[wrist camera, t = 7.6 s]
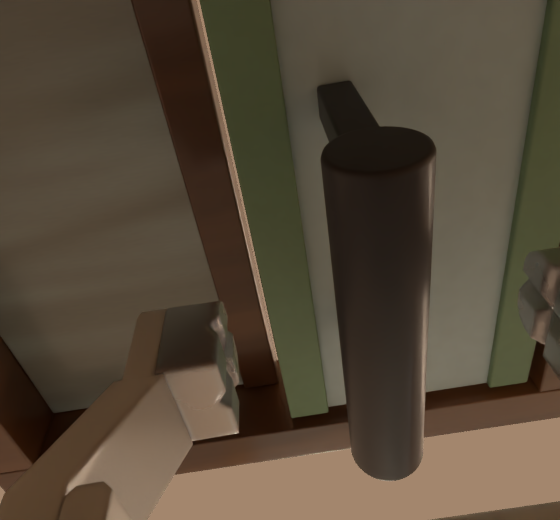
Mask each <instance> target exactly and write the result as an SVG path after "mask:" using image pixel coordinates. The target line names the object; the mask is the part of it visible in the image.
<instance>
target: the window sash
mask: <svg viewBox="0 0 560 520" xmlns="http://www.w3.org/2000/svg"><path fill="white" fill-rule="evenodd" d="M200 4H201V9H202V13H203V18H204V22H205V27H206V32H207V37H208V41H209V46H210V50H211V55H212V59H213V64H214V68H215V73H216V77H217V82H218V87H219V91H220V95H221V100H222V104H223V110H224V114H225V119H226V123H227V128H228V132H229V136H230V141H231V146H232V151H233V155H234V160H235V164H236V168H237V173H238V178H239V183H240V187H241V191H242V196H243V201H244V205H245V210H246V214H247V219H248V224H249V228H250V233H251V237H252V241H253V246H254V251H255V256H256V260H257V265H258V269H259V274H260V278H261V283H262V287H263V292H264V297H265V301H266V305H267V310H268V315H269V319H270V324H271V328H272V333H273V338H274V342H275V347H276V351H277V356H278V360H279V365H280V370H281V374H282V379H283V383H284V388H285V392H286V397H287V402H288V406H289V411H290V415H291V417H292V418H296V417H302V416H309V415H316V414H322V413H328V411H329V409H328V407H331V406H338V405H344V404H346V405H347V414H348V424H349V433H350V443H351V451H352V455H353V457H354V460H355V462H356V463H357V465H358V466H359V467H360V468H361V469H362V470H363V471H364V472H365V473H367V474H368V475H370V476H371V477H374V478H376V479H379V480H384V481H396V480H400V479H403V478H405V477H407V476H409V475H410V474H412V473H413V472H414V471H415V470H416V469H417V467H418V466H419V464H420V462H421V459H422V456H423V438H424V416H425V394H426V392H430V391H436V390H443V389H449V388H456V387H463V386H469V385H476V384H482V383H487V384H488V386H489V387H491V388H492V387H499V386H505V385H512V384H518V383H525V382H527V380H528V376H529V371H530V367H531V363H532V359H533V354H534V350H535V346H536V340H534V339H532V338H531V337H530V336H529V334H528V333H527V331H526V330H525V328H524V326H523V324H522V321H521V319H520V316H519V310H518V304H517V302H518V294H519V289H520V287H521V286H522V285H523V284H524V283H525V282H526V281H527V280H528V279H529V277H528V276H527V275H526V274H525V272H524V271H523V266H524V262H525V258H526V257H527V255H528V253H529V252H532V251H538V250H544V249H550V248H556V247H559V243H560V0H200Z"/></svg>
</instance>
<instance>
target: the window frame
mask: <svg viewBox="0 0 560 520" xmlns="http://www.w3.org/2000/svg"><path fill="white" fill-rule="evenodd" d="M559 247H560V243H559ZM215 301H222V302H223V304H224V307H225V310H226V313H227V316H228V320H227V330H228V331H229V332H231V333H232V334H233V337H234V341H235V345H236V350H237V356H238V366H239V383H238V384H237V386H236V387H235V389H236V393H237V396H238V400H239V433H236V434H230V435H225V436H219V437H213V438H208V439H202V440H197V441H192V443H193V445H192V447H191V448H190V450H189V452H188V453H187V455H186V456H185V458H184V460H183V461H182V463H181V465H180V466H179V468H178V470H177V471H176V473H175V474H183V473H189V472H196V471H203V470H210V469H216V468H223V467H230V466H236V465H243V464H250V463H256V462H263V461H270V460H277V459H283V458H290V457H297V456H303V455H309V454H317V453H323V452H330V451H337V450H343V449H350V448H351V443H350V433H349V424H348V414H347V405H346V404H344V405H338V406H331V407H328V409H329V411H328V413H322V414H316V415H309V416H302V417H296V418H292V417H291V415H290V411H289V406H288V402H287V397H286V392H285V388H284V383H283V379H282V374H281V370H280V365H279V360H276V356H275V351H274V347H273V342H272V338H271V334H270V329H269V325H268V320H267V315H266V311H265V306H264V302H263V298H262V293H261V288H260V284H259V280H258V275H257V270H256V266H255V262H254V257H253V252H252V248H251V244H250V239H249V234H248V230H247V225H246V221H245V217H244V212H243V208H242V204H241V199H240V194H239V190H238V185H237V181H236V176H235V172H234V167H233V163H232V159H231V154H230V149H229V145H228V140H227V136H226V131H225V127H224V122H223V118H222V113H221V109H220V105H219V100H218V95H217V91H216V86H215V82H214V77H213V73H212V68H211V64H210V60H209V55H208V51H207V46H206V42H205V37H204V32H203V28H202V23H201V19H200V15H199V10H198V5H197V1H196V0H0V486H1V487H2V489H4V491H5V492H6V491H7V490H8V489H9V488H10V487H11V486H12V485H13V484H14V483H15V482H16V481H17V480H18V479H19V478H20V477H21V476H22V475H23V474H24V473H25V472H26V471H27V470H28V469H29V468H30V467H31V466H32V465H33V464H34V463H35V462H36V461H37V460H38V459H39V458H40V457H41V456H42V455H43V454H44V453H45V452H46V451H47V450H48V449H49V447H50V446H51V445H52V444H53V443H54V442H55V441H56V440H57V439H58V438H59V437H60V436H61V435H62V434H63V433H64V432H65V431H66V430H67V429H68V428H69V427H70V426H71V425H72V424H73V423H74V422H75V421H76V420H77V419H78V418H79V417H80V416H81V415H82V414H83V413H84V412H85V411H86V410H87V409H88V408H89V407H90V406H91V405H92V404H93V402H94V401H95V400H96V399H97V398H98V397H99V396H100V395H101V394H102V393H103V392H104V391H105V390H106V389H107V388H108V387H109V386H110V385H111V384H112V383H113V382H114V381H120V380H122V379H123V375H124V371H125V367H126V362H127V358H128V354H129V350H130V346H131V342H132V338H133V334H134V330H135V326H136V322H137V318H138V316H139V315H140V314H141V313H142V312H145V311H152V310H159V309H168V308H171V307H178V306H185V305H193V304H200V303H207V302H215ZM544 348H545V345H544V344H542V343H540V342H538V341H536V346H535V350H534V354H533V359H532V363H531V367H530V371H529V376H528V380H527V382H525V383H518V384H512V385H505V386H499V387H492V388H491V387H489V386H488V384H487V383H482V384H476V385H469V386H463V387H456V388H449V389H443V390H436V391H430V392H426V394H425V416H424V437H431V436H437V435H444V434H450V433H457V432H464V431H470V430H478V429H484V428H491V427H498V426H504V425H511V424H518V423H525V422H531V421H538V420H545V419H551V418H558V417H560V380H559V379H558V377H557V376H556V374H555V373H554V371H553V370H552V369H551V367H550V366H549V364H548V363H547V361H546V360H545V358H544V357H543V352H544Z"/></svg>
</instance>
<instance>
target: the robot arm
mask: <svg viewBox="0 0 560 520" xmlns="http://www.w3.org/2000/svg"><path fill="white" fill-rule="evenodd" d="M523 271H524V272H525V274H526V275H527V276H528V277H529V279H528V280H527V281H526V282H525V283H524V284H523V285H522V286H521V287H520V289H519V294H518V302H517V304H518V310H519V316H520V319H521V321H522V324H523V326H524V328H525V330H526V331H527V333H528V334H529V336H530V337H531V338H532V339H534V340H536V341H538V342H540V343H542V344H544V345H545V348H544V352H543V357H544V358H545V360H546V361H547V363H548V364H549V366H550V367H551V369H552V370H553V371H554V373H555V374H556V376H557V377H558V379H559V380H560V247H556V248H550V249H544V250H538V251H532V252H529V253H528V255H527V257H526V258H525V262H524V266H523ZM227 320H228V316H227V313H226V310H225V307H224V304H223V302H222V301H215V302H207V303H200V304H193V305H185V306H178V307H171V308H168V309H159V310H152V311H145V312H142V313H141V314H140V315H139V316H138V318H137V322H136V326H135V330H134V334H133V338H132V342H131V346H130V350H129V354H128V358H127V362H126V367H125V371H124V375H123V379H122V380H120V381H114V382H113V383H112V384H111V385H110V386H109V387H108V388H107V389H106V390H105V391H104V392H103V393H102V394H101V395H100V396H99V397H98V398H97V399H96V400H95V401H94V402H93V404H92V405H91V406H90V407H89V408H88V409H87V410H86V411H85V412H84V413H83V414H82V415H81V416H80V417H79V418H78V419H77V420H76V421H75V422H74V423H73V424H72V425H71V426H70V427H69V428H68V429H67V430H66V431H65V432H64V433H63V434H62V435H61V436H60V437H59V438H58V439H57V440H56V441H55V442H54V443H53V444H52V445H51V446H50V447H49V449H48V450H47V451H46V452H45V453H44V454H43V455H42V456H41V457H40V458H39V459H38V460H37V461H36V462H35V463H34V464H33V465H32V466H31V467H30V468H29V469H28V470H27V471H26V472H25V473H24V474H23V475H22V476H21V477H20V478H19V479H18V480H17V481H16V482H15V483H14V484H13V485H12V486H11V487H10V488H9V489H8V490H7V491H6V492H5V494H4V496H3V499H2V501H1V504H0V520H147V519H148V517H149V515H150V514H151V512H152V511H153V509H154V507H155V506H156V504H157V503H158V501H159V499H160V498H161V496H162V494H163V493H164V491H165V489H166V488H167V486H168V484H169V483H170V481H171V480H172V478H173V476H174V475H175V473H176V471H177V470H178V468H179V466H180V465H181V463H182V461H183V460H184V458H185V456H186V455H187V453H188V452H189V450H190V448H191V447H192V445H193V443H192V441H197V440H202V439H208V438H213V437H219V436H225V435H230V434H236V433H239V400H238V396H237V393H236V389H235V387H236V386H237V384H238V383H239V366H238V356H237V350H236V345H235V341H234V337H233V334H232V333H231V332H229V331H228V330H227ZM432 520H560V501H559V502H552V503H545V504H539V505H531V506H524V507H517V508H510V509H502V510H495V511H488V512H481V513H475V514H467V515H460V516H453V517H446V518H439V519H432Z"/></svg>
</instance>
